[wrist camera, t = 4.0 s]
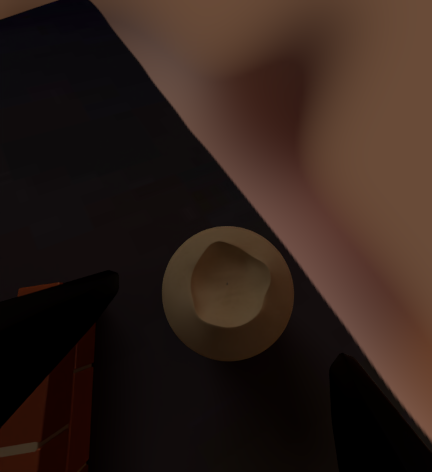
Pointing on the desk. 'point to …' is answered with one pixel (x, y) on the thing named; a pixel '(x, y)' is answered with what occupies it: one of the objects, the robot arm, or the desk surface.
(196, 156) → the desk surface
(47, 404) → the brick wall
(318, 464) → the desk surface
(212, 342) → the candle
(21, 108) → the desk surface
